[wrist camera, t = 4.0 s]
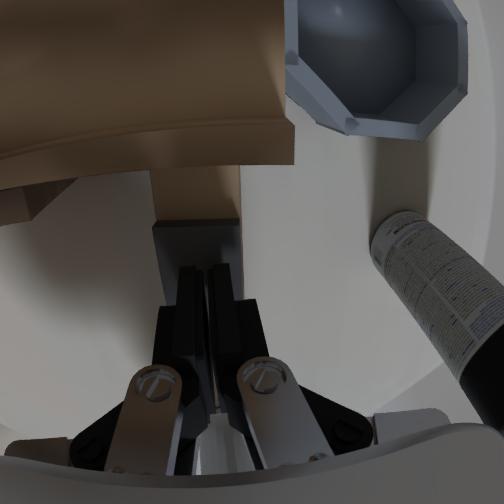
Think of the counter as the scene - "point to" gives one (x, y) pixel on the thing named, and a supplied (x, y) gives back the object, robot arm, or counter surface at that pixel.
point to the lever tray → (149, 109)
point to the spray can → (448, 305)
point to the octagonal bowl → (376, 64)
